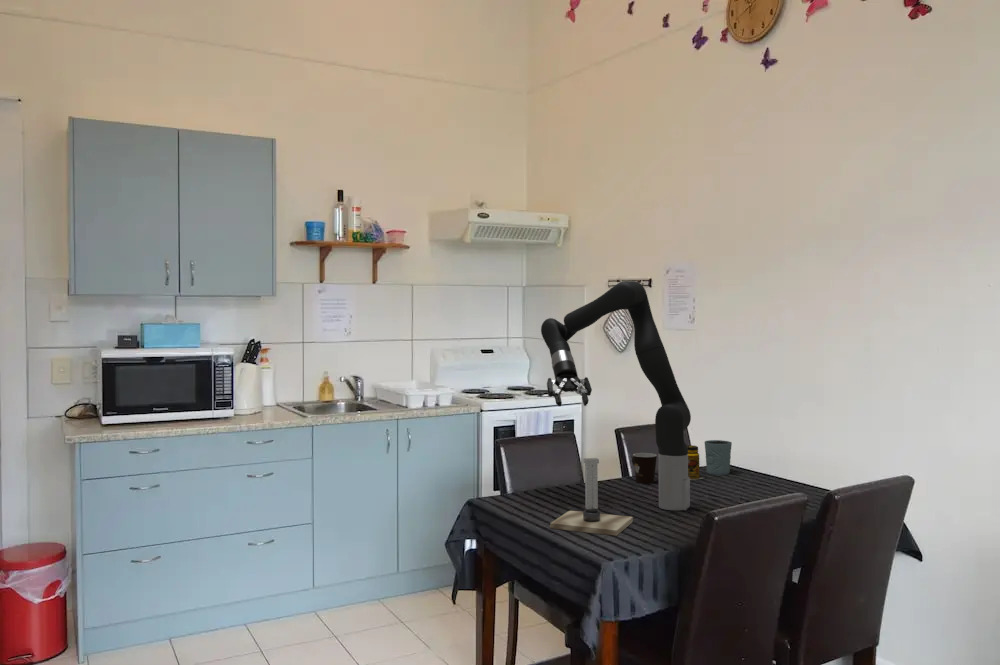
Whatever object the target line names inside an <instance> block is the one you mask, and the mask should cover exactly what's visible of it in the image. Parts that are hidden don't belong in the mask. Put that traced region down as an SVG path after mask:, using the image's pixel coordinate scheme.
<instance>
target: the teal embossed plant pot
mask: <svg viewBox="0 0 1000 665" xmlns="http://www.w3.org/2000/svg"><path fill="white" fill-rule="evenodd" d="M704 450H705V464H706V466H705V467H706V473H707V474H708V473H709V475H716V476H726V475H730V472H731V454H732V453H731V452H732V441H729V440H722V439H714V440H713V439H711V440H705V441H704Z"/></svg>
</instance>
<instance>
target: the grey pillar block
mask: <svg viewBox="0 0 1000 665" xmlns="http://www.w3.org/2000/svg"><path fill="white" fill-rule="evenodd" d="M583 464H584V477H585V478H584V480H585V481H584V485H585V486H584V490H585V493H584V494H585V498H584V499H585V503H584V504H585V508H584V510H583V511H582V512H583V520H584V521H586V522H598V521H600V514H601V510H599V503H598V502H599V493H598V492H599V489H598V488H599V487H598V484H599V483H598V482H599V481H598V478H599V477H598V473H599V472H598V464H600V459H599V458H598V457H590V458H589V457H588V458H583Z"/></svg>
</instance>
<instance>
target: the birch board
mask: <svg viewBox="0 0 1000 665" xmlns="http://www.w3.org/2000/svg"><path fill="white" fill-rule="evenodd" d="M633 523H634V517H633V516H628V515H615V514H609V513H608V514H607V513H600V521H598V522H586V521H584V520H583V511H580V510H579V511H577V510H568V511H567V512H565V513H564V514H562V515H561V516H559V517H558V518H556V519H555V520H553V521H551V522H550V523H549V524H550V525H549V527H550V528H549V529H552V530H554V529H555V530H564V531H572V532H578V533H579V532H580V533H587V534H589V533H590V534H599V535H607V536H619V535H620V534H621V533H622V532H623V531H625V529H627V527H628V526H630V525H631V524H633Z"/></svg>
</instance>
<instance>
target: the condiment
mask: <svg viewBox="0 0 1000 665" xmlns="http://www.w3.org/2000/svg"><path fill="white" fill-rule="evenodd" d="M687 446H688V477H690V481H695V480H701V479H704V477H702V476H700V454H699V447H698V445H692V444H691V445H688V444H687Z"/></svg>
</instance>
